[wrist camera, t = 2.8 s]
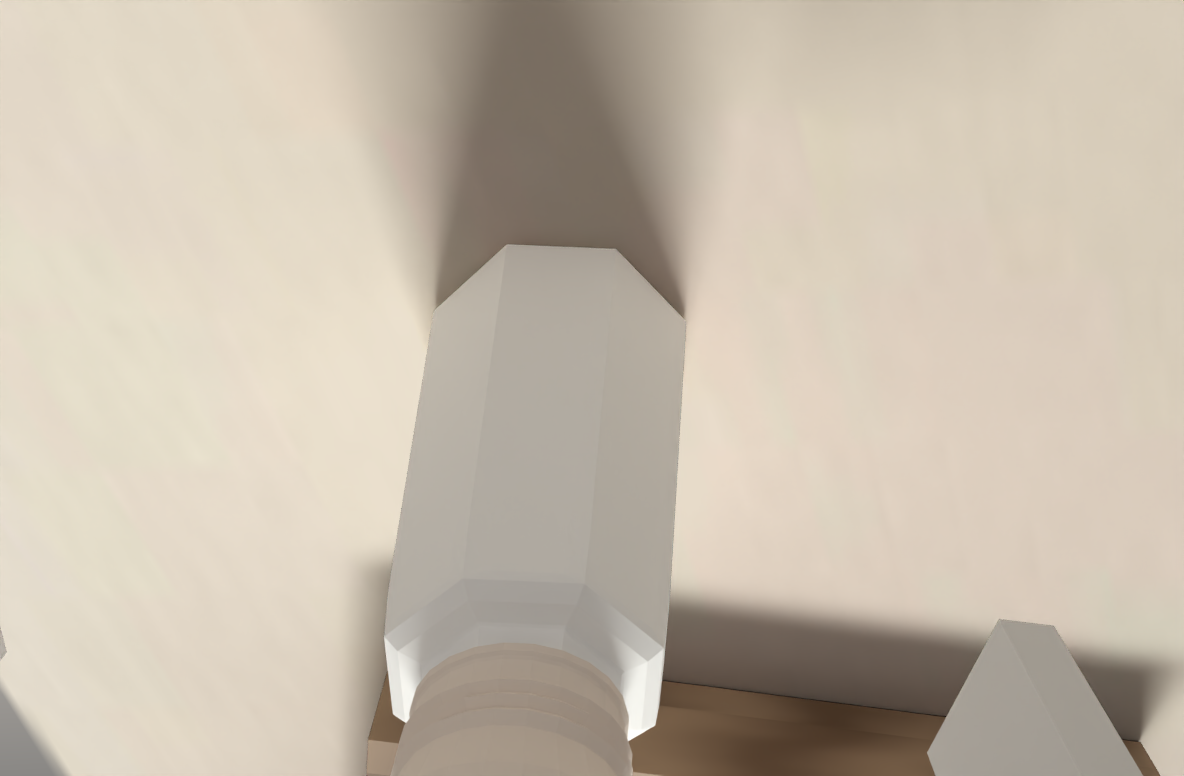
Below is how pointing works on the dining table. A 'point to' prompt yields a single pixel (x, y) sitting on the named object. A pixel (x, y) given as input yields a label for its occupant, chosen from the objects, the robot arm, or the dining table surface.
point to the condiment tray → (753, 737)
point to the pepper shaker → (537, 521)
